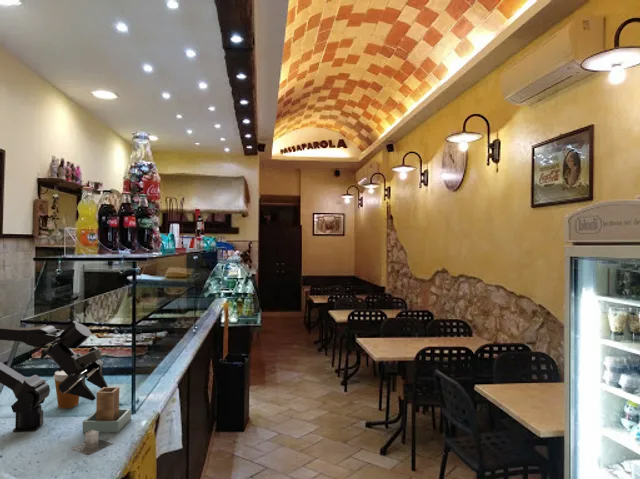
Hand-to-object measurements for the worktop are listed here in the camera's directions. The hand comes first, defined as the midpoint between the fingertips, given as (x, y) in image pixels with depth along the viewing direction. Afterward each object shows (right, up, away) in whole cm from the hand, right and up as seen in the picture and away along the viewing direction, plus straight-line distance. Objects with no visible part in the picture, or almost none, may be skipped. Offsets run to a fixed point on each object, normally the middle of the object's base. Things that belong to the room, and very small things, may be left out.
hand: (100, 394), depth 146 cm
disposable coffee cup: (-20, -10, +18) cm, 29 cm away
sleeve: (+2, -10, 0) cm, 10 cm away
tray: (+2, -11, 0) cm, 11 cm away
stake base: (+4, -11, -14) cm, 18 cm away
